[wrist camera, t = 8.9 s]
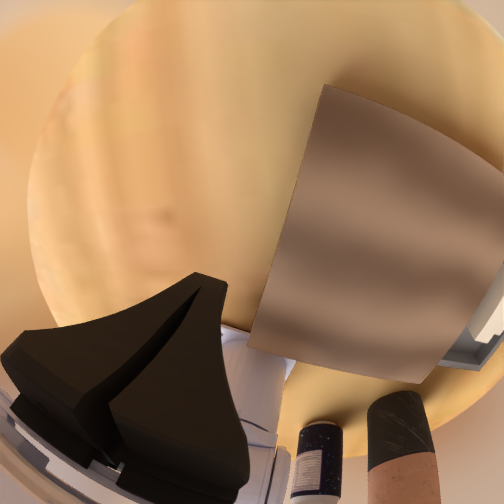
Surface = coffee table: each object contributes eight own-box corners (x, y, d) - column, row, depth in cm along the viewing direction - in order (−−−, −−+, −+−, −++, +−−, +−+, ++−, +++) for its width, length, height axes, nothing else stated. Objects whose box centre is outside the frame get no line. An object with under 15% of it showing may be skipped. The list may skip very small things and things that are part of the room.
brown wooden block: (411, 354, 22) (420, 384, 19) (255, 315, 23) (246, 346, 20) (499, 182, 14) (528, 194, 11) (320, 94, 15) (324, 84, 12)
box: (472, 357, 21) (479, 371, 19) (418, 347, 22) (424, 363, 20) (544, 231, 14) (556, 239, 12) (498, 194, 15) (513, 202, 13)
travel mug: (383, 387, 25) (392, 558, 7) (434, 390, 24) (458, 536, 6) (354, 421, 28) (348, 562, 10) (402, 423, 27) (410, 550, 9)
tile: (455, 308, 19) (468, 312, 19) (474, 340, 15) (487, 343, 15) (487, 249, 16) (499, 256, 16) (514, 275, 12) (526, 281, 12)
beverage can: (302, 437, 31) (292, 511, 21) (297, 419, 29) (285, 503, 19) (342, 434, 30) (339, 510, 19) (342, 415, 28) (340, 502, 17)
